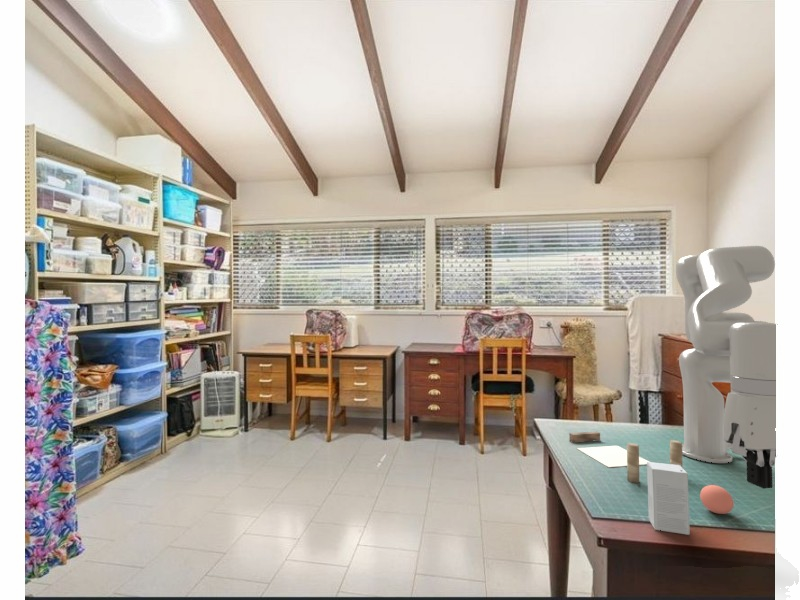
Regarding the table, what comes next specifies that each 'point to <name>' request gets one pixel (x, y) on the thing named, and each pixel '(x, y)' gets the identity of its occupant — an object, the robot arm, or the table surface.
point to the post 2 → (676, 453)
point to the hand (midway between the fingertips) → (759, 484)
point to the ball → (716, 499)
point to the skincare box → (668, 497)
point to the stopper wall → (584, 436)
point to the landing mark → (610, 455)
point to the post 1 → (633, 463)
